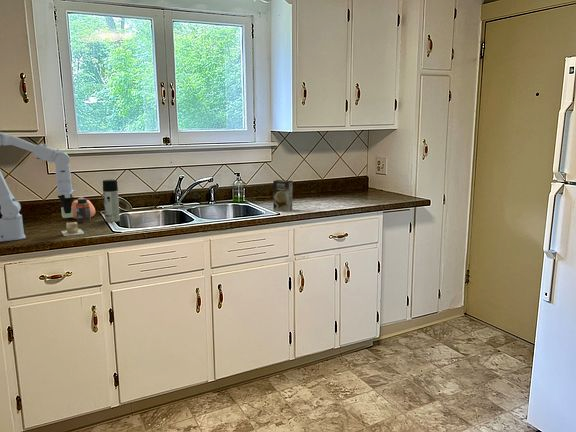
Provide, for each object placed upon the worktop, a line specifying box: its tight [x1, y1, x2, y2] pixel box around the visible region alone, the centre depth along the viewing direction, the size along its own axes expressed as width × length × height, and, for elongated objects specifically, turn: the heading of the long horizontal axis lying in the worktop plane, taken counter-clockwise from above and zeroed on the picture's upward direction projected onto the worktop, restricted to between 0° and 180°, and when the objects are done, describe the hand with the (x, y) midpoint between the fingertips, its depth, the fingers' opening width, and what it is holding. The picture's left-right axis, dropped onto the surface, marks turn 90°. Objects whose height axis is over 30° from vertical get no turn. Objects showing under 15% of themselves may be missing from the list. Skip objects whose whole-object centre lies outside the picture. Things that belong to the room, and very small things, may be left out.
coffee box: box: [272, 179, 294, 212], centre depth 258 cm, size 9×6×16 cm
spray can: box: [102, 179, 121, 223], centre depth 230 cm, size 7×7×20 cm
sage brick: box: [60, 206, 73, 219], centre depth 205 cm, size 4×4×4 cm
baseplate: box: [61, 228, 85, 237], centre depth 208 cm, size 8×10×1 cm
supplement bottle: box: [76, 197, 92, 224], centre depth 230 cm, size 6×6×11 cm
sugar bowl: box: [71, 197, 96, 220], centre depth 239 cm, size 12×14×10 cm
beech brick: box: [65, 221, 79, 234], centre depth 207 cm, size 4×4×4 cm
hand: (67, 212), depth 205 cm, fingers closed on sage brick, 4 cm apart
